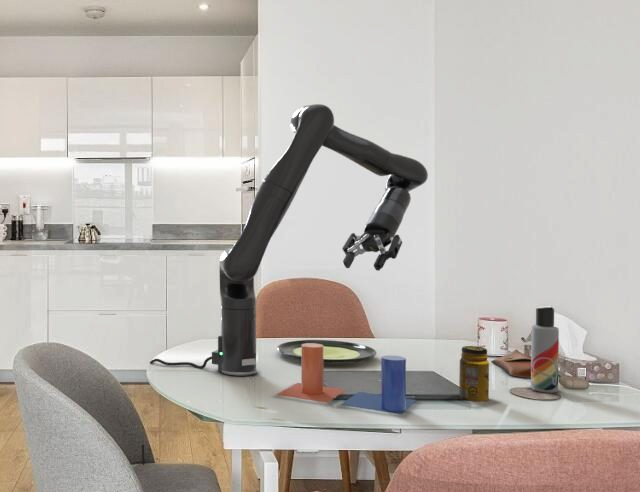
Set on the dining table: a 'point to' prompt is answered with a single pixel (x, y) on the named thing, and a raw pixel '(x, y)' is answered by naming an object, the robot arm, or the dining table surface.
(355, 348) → the plate
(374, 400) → the blue mat
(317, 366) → the terracotta canister
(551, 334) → the lotion bottle
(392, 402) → the blue canister
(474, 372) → the condiment
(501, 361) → the sunglasses case
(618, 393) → the dining table surface
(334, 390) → the terracotta mat
